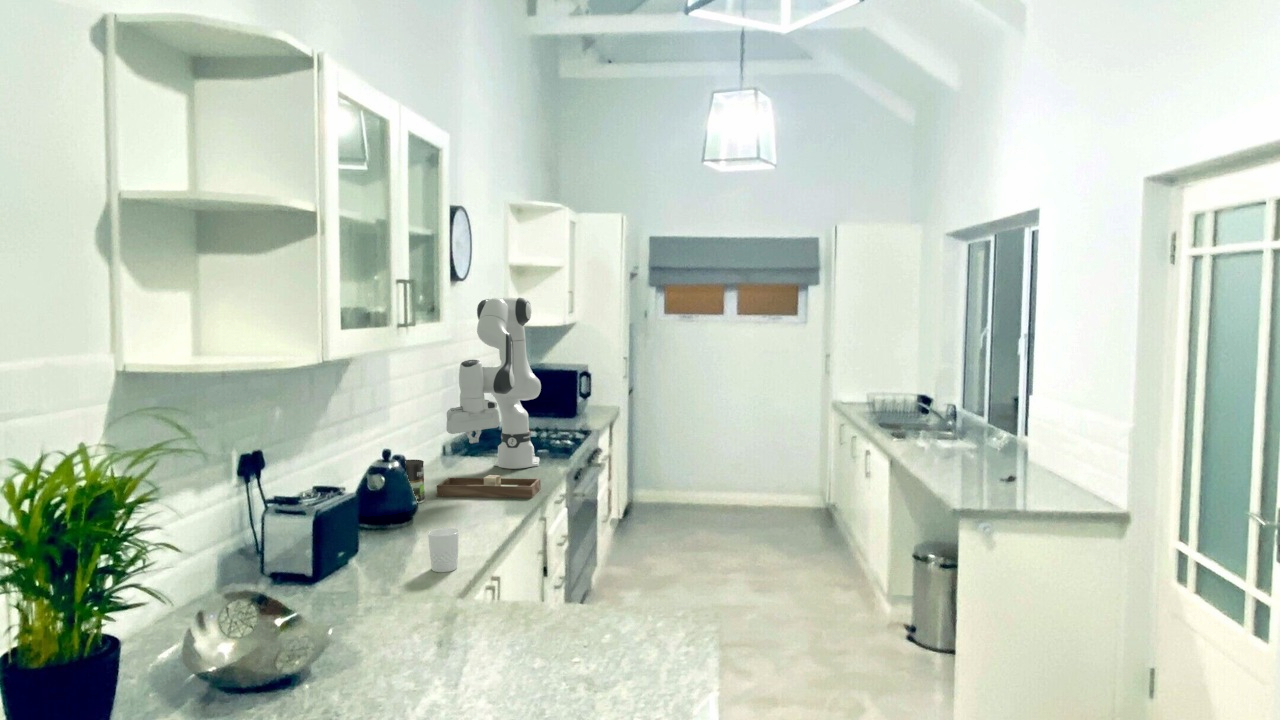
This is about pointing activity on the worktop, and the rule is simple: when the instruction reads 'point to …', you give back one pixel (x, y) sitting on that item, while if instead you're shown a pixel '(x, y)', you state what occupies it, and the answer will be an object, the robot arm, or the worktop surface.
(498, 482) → the birch block
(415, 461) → the coffee can
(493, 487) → the track
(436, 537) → the white cup
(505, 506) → the worktop surface
